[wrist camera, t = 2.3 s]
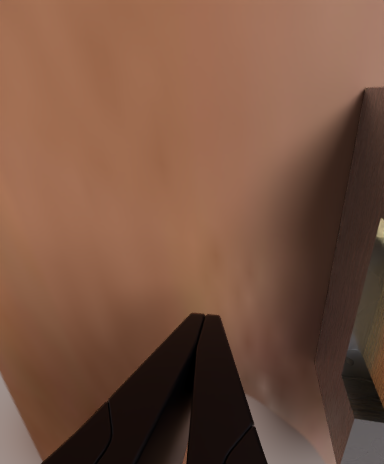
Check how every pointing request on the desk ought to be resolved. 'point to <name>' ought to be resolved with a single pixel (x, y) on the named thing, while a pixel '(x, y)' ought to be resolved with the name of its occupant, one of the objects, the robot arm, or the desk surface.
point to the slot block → (356, 300)
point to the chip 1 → (376, 349)
